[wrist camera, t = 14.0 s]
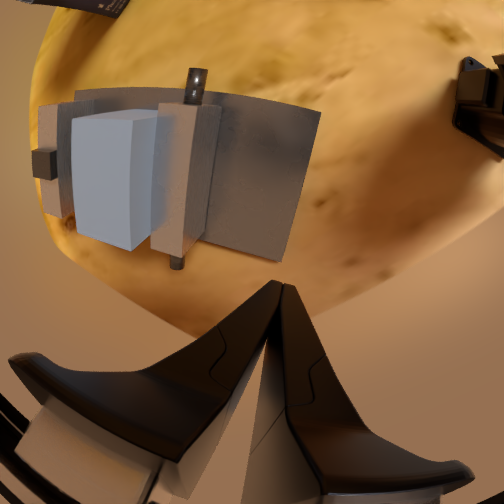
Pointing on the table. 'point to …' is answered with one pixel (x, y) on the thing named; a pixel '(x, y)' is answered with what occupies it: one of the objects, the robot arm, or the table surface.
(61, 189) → the vise
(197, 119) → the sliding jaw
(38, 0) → the small box
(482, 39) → the table surface
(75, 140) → the block
